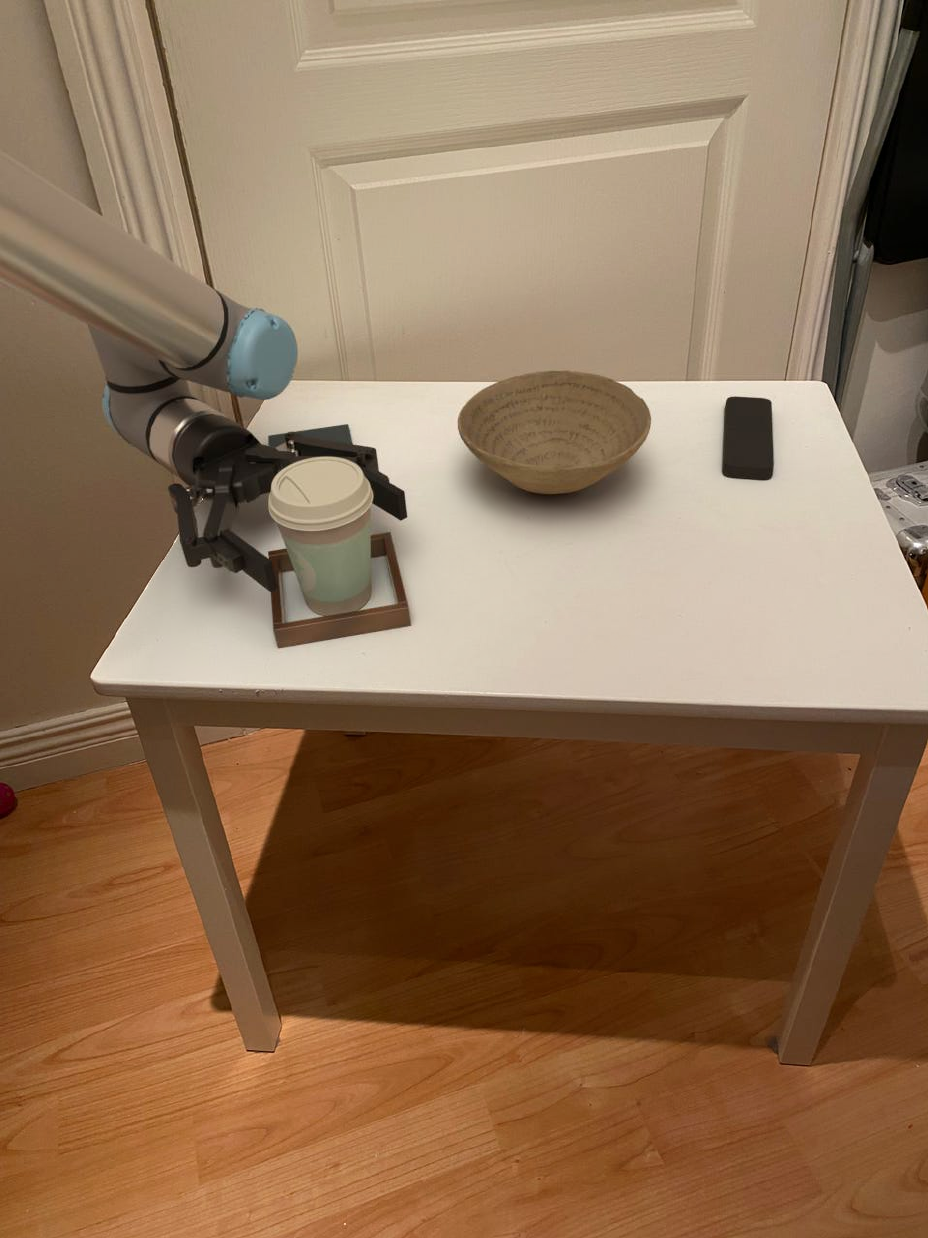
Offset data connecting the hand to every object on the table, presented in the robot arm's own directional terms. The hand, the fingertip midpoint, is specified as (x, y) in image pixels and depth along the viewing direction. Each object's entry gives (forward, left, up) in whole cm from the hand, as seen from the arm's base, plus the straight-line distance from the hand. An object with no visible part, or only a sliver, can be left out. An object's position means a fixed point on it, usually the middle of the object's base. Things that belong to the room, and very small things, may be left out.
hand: (339, 540), depth 77 cm
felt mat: (-1, +27, -7) cm, 28 cm away
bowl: (+22, +14, -7) cm, 27 cm away
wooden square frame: (-1, +1, -7) cm, 7 cm away
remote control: (+44, +16, -7) cm, 47 cm away
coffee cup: (-1, +1, -7) cm, 7 cm away
